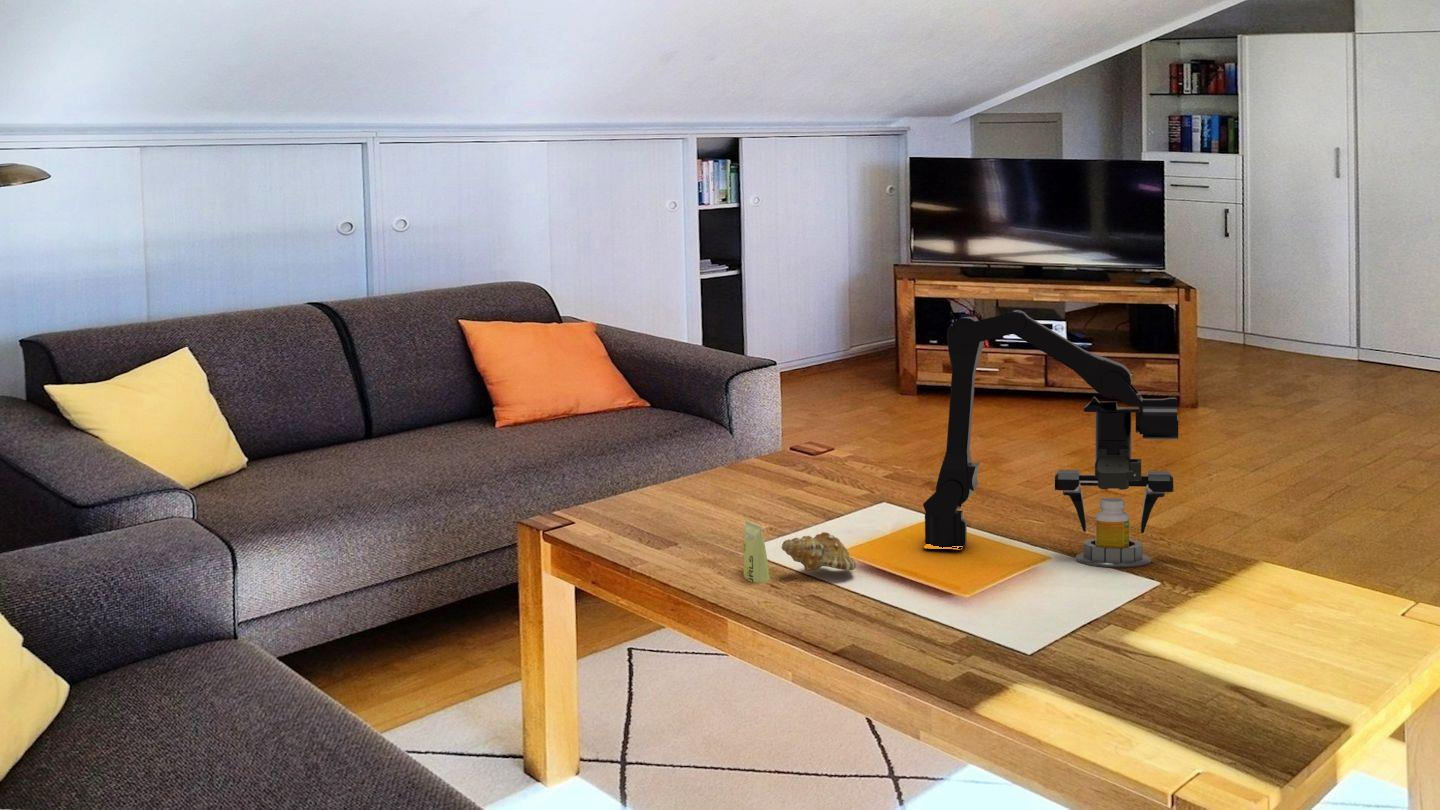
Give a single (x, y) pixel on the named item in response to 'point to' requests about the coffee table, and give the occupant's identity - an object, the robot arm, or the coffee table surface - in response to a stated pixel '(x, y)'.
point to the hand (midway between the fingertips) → (1113, 532)
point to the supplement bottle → (1112, 524)
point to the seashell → (819, 552)
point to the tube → (755, 554)
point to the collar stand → (1113, 555)
